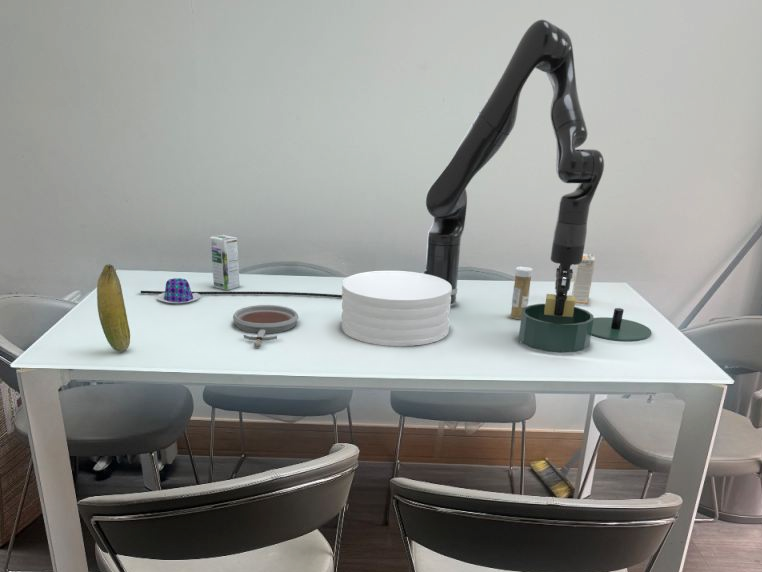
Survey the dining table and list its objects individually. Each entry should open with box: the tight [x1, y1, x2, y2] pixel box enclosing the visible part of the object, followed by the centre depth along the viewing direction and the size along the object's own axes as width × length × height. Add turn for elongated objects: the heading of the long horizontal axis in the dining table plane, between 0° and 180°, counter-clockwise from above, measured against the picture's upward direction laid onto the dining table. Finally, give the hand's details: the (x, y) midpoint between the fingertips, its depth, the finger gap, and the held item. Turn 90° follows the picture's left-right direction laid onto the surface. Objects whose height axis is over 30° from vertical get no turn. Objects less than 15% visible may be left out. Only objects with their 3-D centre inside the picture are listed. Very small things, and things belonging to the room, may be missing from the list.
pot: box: [518, 303, 595, 354], centre depth 193 cm, size 18×18×8 cm
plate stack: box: [341, 270, 452, 347], centre depth 197 cm, size 28×28×12 cm
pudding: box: [156, 277, 201, 304], centre depth 215 cm, size 12×12×5 cm
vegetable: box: [96, 263, 131, 353], centre depth 174 cm, size 6×6×20 cm
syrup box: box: [209, 234, 241, 291], centre depth 225 cm, size 6×6×14 cm
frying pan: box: [232, 304, 299, 349], centre depth 195 cm, size 17×3×28 cm
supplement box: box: [571, 253, 596, 305], centre depth 225 cm, size 8×5×13 cm, turn 168°
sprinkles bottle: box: [510, 266, 533, 320], centre depth 209 cm, size 5×5×14 cm
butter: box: [544, 293, 576, 317], centre depth 190 cm, size 7×4×4 cm, turn 79°
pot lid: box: [591, 307, 652, 342], centre depth 202 cm, size 19×19×6 cm
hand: (558, 311), depth 191 cm, fingers closed on butter, 4 cm apart
